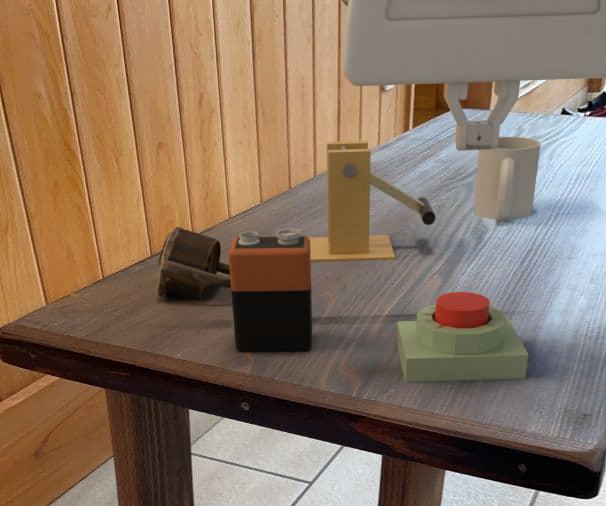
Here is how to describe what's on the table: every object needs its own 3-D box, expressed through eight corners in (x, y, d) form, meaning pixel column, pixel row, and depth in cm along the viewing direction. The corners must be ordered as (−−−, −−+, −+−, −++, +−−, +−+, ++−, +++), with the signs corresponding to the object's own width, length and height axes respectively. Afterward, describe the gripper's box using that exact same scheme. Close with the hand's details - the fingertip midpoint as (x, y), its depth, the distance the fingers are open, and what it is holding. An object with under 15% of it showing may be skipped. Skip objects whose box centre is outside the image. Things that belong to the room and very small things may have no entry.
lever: (421, 216, 98) (433, 197, 96) (428, 231, 93) (440, 211, 92) (330, 161, 94) (341, 141, 93) (332, 174, 89) (344, 153, 88)
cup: (530, 211, 110) (540, 137, 105) (531, 234, 102) (541, 155, 97) (474, 210, 112) (480, 136, 106) (470, 233, 104) (477, 154, 98)
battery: (310, 352, 76) (308, 239, 70) (235, 353, 76) (226, 240, 71) (312, 333, 80) (310, 224, 74) (240, 334, 80) (232, 225, 74)
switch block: (505, 340, 77) (511, 297, 75) (525, 379, 71) (531, 333, 68) (395, 344, 77) (397, 301, 75) (405, 382, 71) (407, 337, 68)
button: (482, 310, 74) (484, 290, 72) (492, 330, 70) (494, 309, 69) (431, 312, 74) (432, 292, 73) (438, 332, 70) (440, 311, 69)
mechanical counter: (192, 224, 91) (129, 227, 83) (294, 227, 85) (237, 230, 77) (195, 294, 93) (134, 303, 86) (295, 301, 87) (239, 312, 80)
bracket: (388, 245, 101) (391, 137, 94) (394, 267, 94) (399, 152, 87) (303, 248, 101) (300, 140, 94) (304, 270, 94) (301, 156, 87)
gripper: (338, -74, 53) (339, 162, 61) (666, -85, 53) (623, 153, 61) (334, -74, 58) (335, 144, 66) (633, -84, 58) (597, 135, 66)
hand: (476, 148), depth 64 cm, fingers closed
